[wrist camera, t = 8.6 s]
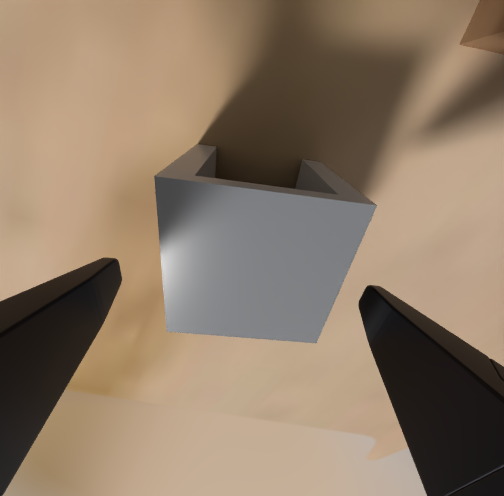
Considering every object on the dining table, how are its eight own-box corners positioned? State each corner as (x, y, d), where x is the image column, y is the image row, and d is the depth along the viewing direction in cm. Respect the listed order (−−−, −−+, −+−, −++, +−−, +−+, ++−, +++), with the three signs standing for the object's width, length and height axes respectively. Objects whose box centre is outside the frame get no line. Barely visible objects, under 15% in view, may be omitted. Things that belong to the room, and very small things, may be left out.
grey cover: (320, 161, 13) (376, 205, 7) (292, 261, 16) (316, 343, 10) (197, 143, 12) (154, 176, 7) (195, 250, 15) (166, 331, 10)
